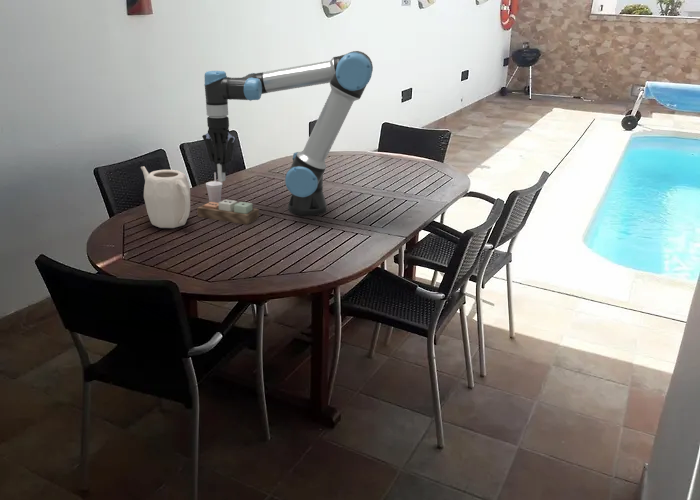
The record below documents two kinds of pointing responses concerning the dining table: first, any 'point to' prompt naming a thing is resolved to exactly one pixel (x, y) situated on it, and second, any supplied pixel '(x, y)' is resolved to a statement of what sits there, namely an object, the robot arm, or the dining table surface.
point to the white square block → (227, 205)
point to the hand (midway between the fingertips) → (222, 180)
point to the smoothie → (214, 190)
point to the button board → (228, 215)
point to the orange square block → (211, 205)
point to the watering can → (166, 197)
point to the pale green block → (243, 207)
